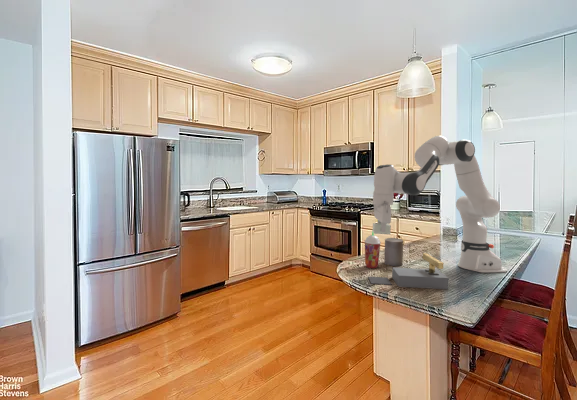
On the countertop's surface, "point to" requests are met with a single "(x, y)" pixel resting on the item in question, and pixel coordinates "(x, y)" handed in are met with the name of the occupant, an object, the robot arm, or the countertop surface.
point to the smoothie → (372, 251)
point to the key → (432, 262)
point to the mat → (379, 280)
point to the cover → (378, 229)
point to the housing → (419, 278)
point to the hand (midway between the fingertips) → (381, 230)
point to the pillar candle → (393, 252)
